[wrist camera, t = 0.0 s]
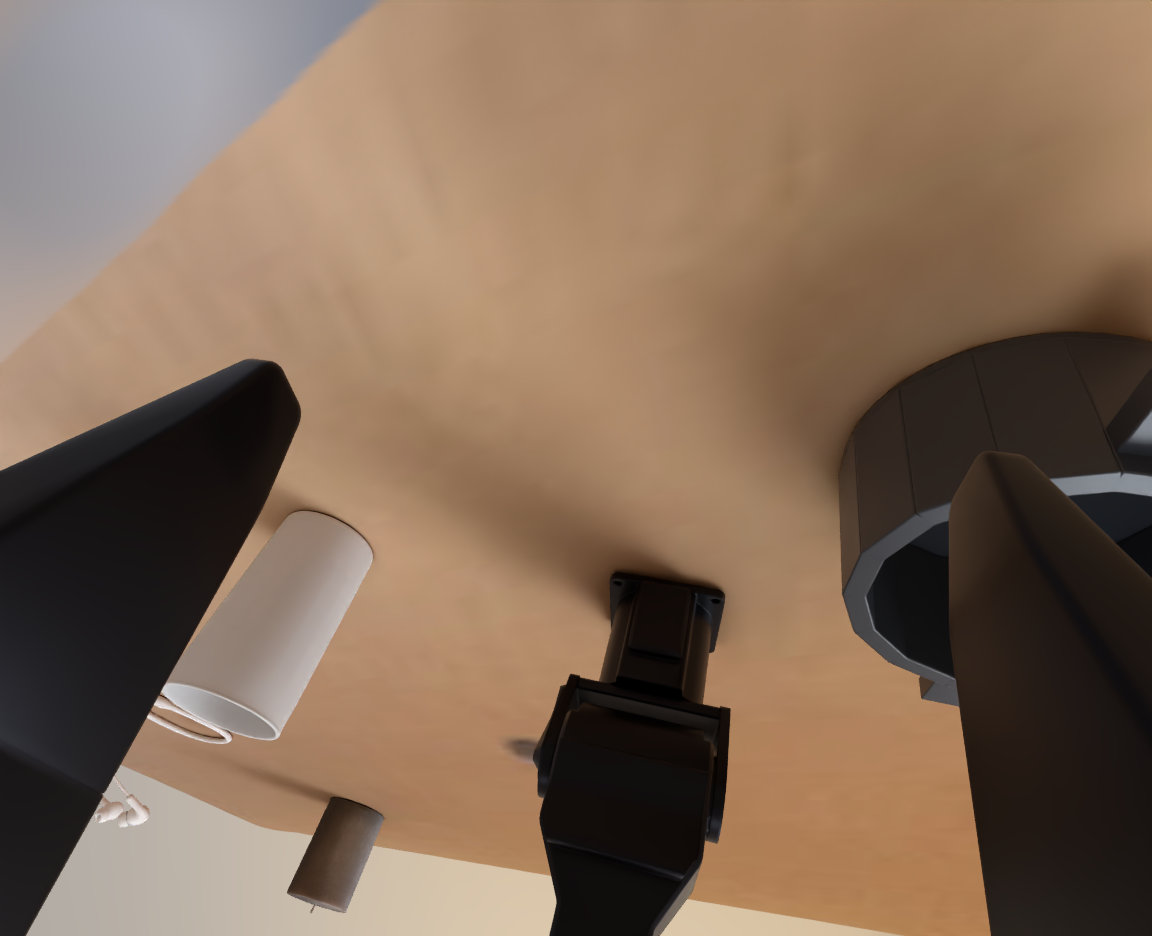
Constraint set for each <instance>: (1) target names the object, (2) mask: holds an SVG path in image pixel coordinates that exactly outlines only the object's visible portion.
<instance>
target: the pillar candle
mask: <svg viewBox="0 0 1152 936" xmlns="http://www.w3.org/2000/svg"><path fill="white" fill-rule="evenodd" d="M383 820H384V818H383V816H382V815H380V814H379V813H378V812H376V811H373V810H371V809H369V808H367V807H365V806H362V805H359V804H357V803H354V802H351V801H347V800H345V799H339V798H331V799H330V802H329V804H328V806H327V808H326V810H325V812H324V814H323V816H322V818H321V820H320V823H319V825H318V827H317V829H316V832H315V833H314V836H313V837H312V840H311V842H310V844H309V846H308V848H307V850H306V853H305V855H304V857H303V859H302V861H301V863H300V866H299V867H298V870H297V871H296V874H295V876H294V878H293V880H292V882H291V884H290V886H289V889H288V891H287V893H288V894H289V895H291V896H293V897H295V898H298V899H300V900H303V901H305V902H308V903H311V904H314V906H313V908H312V910H311V913H312V911H313V909H314V907H315V906H316V905H317V906H319V907H322V908H326V909H330V910H333V911H337V912H342V913H346V910H347V908H348V905H349V903H350V901H351V898H352V896H353V893H354V891H355V888H356V886H357V884H358V881H359V879H360V876H361V874H362V872H363V869H364V866H365V864H366V862H367V860H368V857H369V855H370V852H371V850H372V847H373V845H374V842H375V840H376V838H377V835H378V833H379V830H380V828H381V825H382V823H383Z"/></svg>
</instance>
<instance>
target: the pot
mask: <svg viewBox="0 0 1152 936" xmlns="http://www.w3.org/2000/svg"><path fill="white" fill-rule="evenodd" d="M985 451H996V452H1004V453H1012V454H1019V455H1023V456H1025V457H1027V458H1028V459H1029V460H1031V461H1032V462H1033V463H1034V464H1035V465H1036V466H1037V467H1038V468H1039V469H1040V470H1041V471H1042V472H1043V473H1044V474H1045V475H1046V476H1047V477H1048V478H1049V479H1050V480H1051V481H1052V482H1053V483H1054V484H1055V485H1056V486H1057V487H1058V488H1059V489H1060V490H1062V491H1063V492H1064V493H1065V494H1066V495H1067V496H1068V497H1069V498H1070V499H1071V500H1072V501H1073V502H1074V503H1075V504H1076V505H1077V506H1078V507H1079V508H1080V509H1081V510H1082V511H1083V512H1084V513H1085V514H1086V515H1087V516H1088V517H1089V518H1090V519H1091V520H1092V521H1093V522H1094V523H1095V524H1096V525H1097V526H1099V527H1100V528H1101V529H1102V530H1103V531H1104V532H1105V533H1106V534H1107V535H1108V536H1109V537H1110V538H1111V539H1112V540H1113V541H1114V542H1115V543H1116V544H1117V545H1118V546H1119V547H1120V548H1121V549H1122V550H1123V551H1124V552H1125V553H1126V554H1127V555H1128V556H1129V557H1130V558H1131V559H1132V560H1133V561H1134V562H1136V563H1137V564H1138V565H1139V566H1140V567H1141V568H1142V569H1143V570H1144V571H1145V572H1146V573H1147V574H1148V575H1149V576H1150V577H1151V578H1152V342H1149V341H1145V340H1141V339H1137V338H1134V337H1127V336H1120V335H1113V334H1105V333H1082V332H1069V333H1051V334H1040V335H1033V336H1026V337H1019V338H1013V339H1008V340H1004V341H1000V342H996V343H991V344H987V345H983V346H980V347H977V348H974V349H971V350H968V351H965V352H962V353H959V354H956V355H954V356H951V357H949V358H947V359H944V360H942V361H940V362H937V363H935V364H933V365H931V366H929V367H927V368H925V369H923V370H922V371H920V372H918V373H916V374H914V375H912V376H911V377H909V378H908V379H906V380H905V381H903V382H902V383H900V384H899V385H897V386H896V387H894V388H893V389H892V390H890V391H889V392H888V393H887V394H886V395H884V396H883V397H882V398H881V399H880V400H879V401H878V402H876V403H875V404H874V405H873V406H872V408H871V409H870V410H869V411H868V412H867V413H866V414H865V415H864V416H863V418H862V419H861V420H860V422H859V423H858V425H857V426H856V428H855V429H854V431H853V432H852V434H851V436H850V439H849V441H848V443H847V445H846V447H845V451H844V455H843V459H842V466H841V469H840V472H839V507H840V539H841V571H842V595H843V598H844V602H845V605H846V608H847V612H848V615H849V618H850V621H851V625H852V628H853V630H854V632H855V633H856V634H857V635H858V636H859V637H860V638H861V639H863V640H864V641H865V642H866V643H867V644H868V645H869V646H871V647H872V648H873V649H874V650H875V651H876V652H877V653H879V654H880V655H881V656H882V657H883V658H884V659H885V660H887V661H888V662H890V663H891V664H893V665H896V666H898V667H901V668H903V669H905V670H908V671H910V672H912V673H915V674H917V675H919V676H920V678H919V683H920V692H921V698H922V699H925V700H930V701H935V702H940V703H945V704H950V705H955V706H959V701H958V694H957V686H956V679H955V672H954V665H953V658H952V650H951V640H950V625H949V511H950V506H951V502H952V499H953V497H954V495H955V494H956V492H957V490H958V488H959V487H960V485H961V483H962V481H963V480H964V478H965V476H966V474H967V473H968V471H969V469H970V467H971V466H972V464H973V462H974V460H975V459H976V458H977V456H978V455H979V454H981V453H982V452H985Z"/></svg>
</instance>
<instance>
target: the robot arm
mask: <svg viewBox="0 0 1152 936" xmlns="http://www.w3.org/2000/svg"><path fill="white" fill-rule="evenodd" d="M300 418H301V408H300V404H299V402H298V400H297V398H296V396H295V394H294V392H293V390H292V388H291V386H290V384H289V382H288V379H287V377H286V375H285V373H284V371H283V370H282V368H281V367H280V366H279V365H278V364H277V363H275V362H272V361H266V360H258V359H246V360H243V361H241V362H238V363H236V364H234V365H232V366H230V367H227V368H225V369H223V370H221V371H219V372H216V373H214V374H212V375H210V376H208V377H206V378H203V379H201V380H199V381H197V382H195V383H192V384H190V385H188V386H186V387H184V388H181V389H179V390H177V391H175V392H173V393H170V394H168V395H166V396H164V397H162V398H159V399H157V400H155V401H153V402H151V403H148V404H146V405H144V406H142V407H140V408H137V409H135V410H133V411H131V412H129V413H126V414H124V415H122V416H120V417H118V418H116V419H113V420H111V421H109V422H107V423H105V424H102V425H100V426H98V427H96V428H94V429H91V430H89V431H87V432H85V433H83V434H80V435H78V436H76V437H74V438H72V439H69V440H67V441H65V442H63V443H61V444H58V445H56V446H54V447H52V448H50V449H47V450H45V451H43V452H41V453H39V454H37V455H34V456H32V457H30V458H28V459H26V460H23V461H21V462H19V463H17V464H15V465H12V466H10V467H8V468H6V469H4V470H1V471H0V936H26V934H27V933H28V931H29V929H30V927H31V925H32V923H33V922H34V920H35V918H36V916H37V915H38V913H39V911H40V909H41V907H42V906H43V904H44V902H45V900H46V898H47V897H48V895H49V893H50V891H51V889H52V888H53V886H54V884H55V882H56V880H57V879H58V877H59V875H60V873H61V871H62V870H63V868H64V866H65V864H66V863H67V861H68V859H69V857H70V855H71V854H72V852H73V850H74V848H75V846H76V844H77V843H78V841H79V839H80V837H81V836H82V834H83V832H84V830H85V828H86V827H87V825H88V823H89V821H90V819H91V817H92V816H93V814H94V812H95V810H96V809H97V806H98V805H99V803H100V801H101V800H102V798H103V794H102V793H104V792H105V791H106V790H107V788H108V786H109V784H110V782H111V781H112V779H113V777H114V775H115V773H116V772H117V770H118V768H119V766H120V765H121V763H122V761H123V759H124V757H125V756H126V754H127V752H128V750H129V748H130V747H131V745H132V743H133V741H134V739H135V738H136V736H137V734H138V732H139V730H140V729H141V727H142V725H143V723H144V721H145V720H146V718H147V716H148V714H149V712H150V711H151V709H152V707H153V705H154V703H155V702H156V700H157V698H158V696H159V695H160V693H161V691H162V689H163V687H164V686H165V684H166V682H167V680H168V678H169V677H170V675H171V673H172V671H173V669H174V668H175V666H176V664H177V662H178V660H179V659H180V657H181V655H182V653H183V651H184V650H185V648H186V646H187V644H188V642H189V641H190V639H191V637H192V635H193V634H194V632H195V630H196V628H197V626H198V625H199V623H200V621H201V619H202V617H203V616H204V614H205V612H206V610H207V608H208V607H209V605H210V603H211V601H212V599H213V598H214V596H215V594H216V592H217V590H218V589H219V587H220V585H221V583H222V581H223V580H224V578H225V576H226V574H227V572H228V571H229V569H230V567H231V565H232V564H233V562H234V560H235V558H236V556H237V555H238V553H239V551H240V549H241V547H242V546H243V544H244V542H245V540H246V538H247V537H248V535H249V533H250V531H251V529H252V528H253V526H254V524H255V522H256V520H257V518H258V516H259V515H260V513H261V511H262V509H263V507H264V504H265V502H266V500H267V498H268V496H269V493H270V491H271V489H272V486H273V484H274V482H275V479H276V477H277V474H278V472H279V470H280V467H281V465H282V463H283V460H284V458H285V456H286V453H287V451H288V449H289V446H290V444H291V442H292V439H293V437H294V435H295V432H296V430H297V427H298V425H299V422H300ZM724 603H725V594H724V593H723V592H721V591H718V590H713V589H708V588H702V587H697V586H691V585H686V584H680V583H674V582H669V581H663V580H658V579H652V578H647V577H641V576H636V575H630V574H625V573H618V572H616V573H613V574H612V575H611V579H610V608H611V634H610V638H609V642H608V646H607V650H606V654H605V659H604V663H603V667H602V671H601V675H600V679H599V681H594V680H590V679H585V678H581V677H580V676H579V675H575V674H570V676H569V679H568V681H567V684H566V685H563V686H560V690H559V694H558V697H557V701H556V704H555V707H554V711H553V713H552V716H551V718H550V720H549V722H548V724H547V726H546V728H545V730H544V732H543V734H542V736H541V738H540V740H539V742H538V744H537V746H536V748H535V750H534V754H533V761H534V763H535V765H536V767H537V769H538V796H539V797H541V798H544V800H543V804H542V808H541V812H540V818H539V819H540V826H541V831H542V835H543V840H544V844H545V849H546V854H547V858H548V863H549V867H550V872H551V877H552V881H553V885H554V890H555V895H556V900H557V904H556V909H555V914H554V918H553V922H552V927H551V931H550V936H660V935H661V933H662V932H663V931H664V929H665V928H666V927H667V925H668V924H669V923H670V921H671V920H672V919H673V917H674V916H675V914H676V913H677V912H678V911H679V909H680V908H681V907H682V905H683V904H684V903H685V901H686V900H687V898H688V897H689V896H690V894H691V893H692V891H693V888H694V885H695V882H696V879H697V876H698V872H699V869H700V866H701V863H702V859H703V853H704V844H705V841H709V842H713V843H716V844H717V843H718V840H719V836H720V831H721V825H722V818H723V811H724V803H725V794H726V783H727V766H728V748H729V729H730V711H731V709H730V708H726V707H721V706H720V708H718V707H713V706H709V705H704V704H703V698H704V690H705V682H706V674H707V665H708V657H709V653H712V652H714V650H715V645H716V640H717V636H718V631H719V626H720V622H721V617H722V612H723V608H724ZM949 625H950V640H951V650H952V658H953V665H954V672H955V679H956V686H957V694H958V701H959V708H960V715H961V722H962V730H963V737H964V744H965V751H966V758H967V766H968V773H969V780H970V787H971V794H972V802H973V809H974V816H975V823H976V830H977V838H978V845H979V852H980V859H981V866H982V874H983V881H984V888H985V895H986V902H987V910H988V917H989V924H990V931H991V936H1152V578H1151V577H1150V576H1149V575H1148V574H1147V573H1146V572H1145V571H1144V570H1143V569H1142V568H1141V567H1140V566H1139V565H1138V564H1137V563H1136V562H1134V561H1133V560H1132V559H1131V558H1130V557H1129V556H1128V555H1127V554H1126V553H1125V552H1124V551H1123V550H1122V549H1121V548H1120V547H1119V546H1118V545H1117V544H1116V543H1115V542H1114V541H1113V540H1112V539H1111V538H1110V537H1109V536H1108V535H1107V534H1106V533H1105V532H1104V531H1103V530H1102V529H1101V528H1100V527H1099V526H1097V525H1096V524H1095V523H1094V522H1093V521H1092V520H1091V519H1090V518H1089V517H1088V516H1087V515H1086V514H1085V513H1084V512H1083V511H1082V510H1081V509H1080V508H1079V507H1078V506H1077V505H1076V504H1075V503H1074V502H1073V501H1072V500H1071V499H1070V498H1069V497H1068V496H1067V495H1066V494H1065V493H1064V492H1063V491H1062V490H1060V489H1059V488H1058V487H1057V486H1056V485H1055V484H1054V483H1053V482H1052V481H1051V480H1050V479H1049V478H1048V477H1047V476H1046V475H1045V474H1044V473H1043V472H1042V471H1041V470H1040V469H1039V468H1038V467H1037V466H1036V465H1035V464H1034V463H1033V462H1032V461H1031V460H1029V459H1028V458H1027V457H1025V456H1023V455H1019V454H1012V453H1004V452H996V451H985V452H982V453H981V454H979V455H978V456H977V458H976V459H975V460H974V462H973V464H972V466H971V467H970V469H969V471H968V473H967V474H966V476H965V478H964V480H963V481H962V483H961V485H960V487H959V488H958V490H957V492H956V494H955V495H954V497H953V499H952V502H951V506H950V511H949Z"/></svg>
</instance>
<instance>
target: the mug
mask: <svg viewBox="0 0 1152 936" xmlns="http://www.w3.org/2000/svg"><path fill="white" fill-rule="evenodd" d="M372 561H373V554H372V550H371V548H370V546H369V545H368V543H367V542H366V541H365V540H364V539H363V537H362V536H360V535H359V534H358V533H357V532H356V531H355V530H353V529H352V528H350V527H349V526H347V525H346V524H344V523H342V522H340V521H339V520H337V519H334V518H332V517H330V516H327V515H324V514H321V513H317V512H311V511H298V512H294V513H292V514H290V515H289V516H288V517H287V518H286V519H285V520H284V521H283V523H282V524H281V525H280V527H279V528H278V529H277V531H276V532H275V533H274V535H273V536H272V537H271V539H270V540H269V541H268V542H267V544H266V545H265V546H264V547H263V549H262V550H261V551H260V553H259V554H258V555H257V557H256V558H255V559H254V561H253V562H252V563H251V565H250V566H249V568H248V569H247V570H246V572H245V573H244V574H243V576H242V577H241V578H240V580H239V581H238V582H237V584H236V585H235V586H234V588H233V589H232V590H231V592H230V593H229V594H228V595H227V597H226V598H225V599H224V601H223V602H222V603H221V605H220V606H219V607H218V609H217V610H216V611H215V613H214V614H213V615H212V617H211V618H210V619H209V621H208V622H207V623H206V625H205V626H204V627H203V629H202V630H201V631H200V633H199V634H198V635H197V637H196V638H195V639H194V641H193V642H192V643H191V645H190V646H189V647H188V648H187V650H186V651H185V653H184V654H183V655H182V657H181V658H180V659H179V661H178V662H177V664H176V666H175V668H174V669H173V671H172V673H171V675H170V677H169V678H168V680H167V682H166V684H165V686H164V687H163V689H162V691H161V692H162V693H163V694H164V695H165V696H166V697H167V698H168V699H169V700H170V701H171V702H173V703H174V704H175V705H177V706H178V707H180V708H182V709H183V710H185V711H187V712H188V713H190V714H192V715H194V716H196V717H198V718H200V719H202V720H204V721H206V722H208V723H210V724H213V725H215V726H218V727H220V728H223V729H225V730H228V731H231V732H234V733H237V734H240V735H243V736H247V737H251V738H255V739H261V740H275V739H277V738H279V736H280V733H281V731H282V729H283V728H284V726H285V724H286V722H287V720H288V719H289V717H290V715H291V713H292V712H293V710H294V708H295V706H296V704H297V703H298V701H299V699H300V697H301V695H302V693H303V691H304V690H305V688H306V686H307V684H308V682H309V680H310V678H311V676H312V675H313V673H314V671H315V669H316V667H317V665H318V663H319V661H320V659H321V658H322V656H323V654H324V652H325V650H326V648H327V646H328V644H329V643H330V641H331V639H332V637H333V635H334V633H335V631H336V629H337V628H338V626H339V624H340V622H341V620H342V618H343V616H344V615H345V613H346V611H347V609H348V607H349V605H350V603H351V602H352V600H353V598H354V596H355V594H356V592H357V590H358V588H359V586H360V584H361V583H362V581H363V579H364V577H365V575H366V573H367V571H368V569H369V567H370V566H371V563H372Z"/></svg>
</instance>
